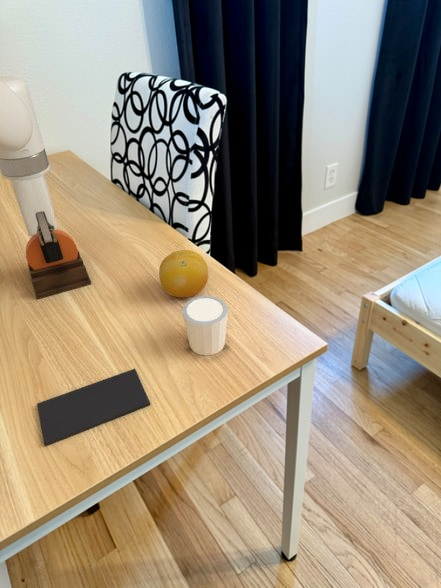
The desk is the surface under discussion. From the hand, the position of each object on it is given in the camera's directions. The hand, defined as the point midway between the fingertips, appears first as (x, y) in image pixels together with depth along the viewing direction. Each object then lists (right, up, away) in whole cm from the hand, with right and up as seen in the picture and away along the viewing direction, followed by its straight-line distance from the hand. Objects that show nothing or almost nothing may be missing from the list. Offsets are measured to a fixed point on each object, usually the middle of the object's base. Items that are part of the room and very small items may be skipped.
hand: (53, 257), depth 81 cm
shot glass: (+29, -15, -13) cm, 35 cm away
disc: (0, -3, +2) cm, 4 cm away
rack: (0, -4, +3) cm, 5 cm away
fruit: (+25, -7, -2) cm, 26 cm away
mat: (+14, -22, -22) cm, 34 cm away
